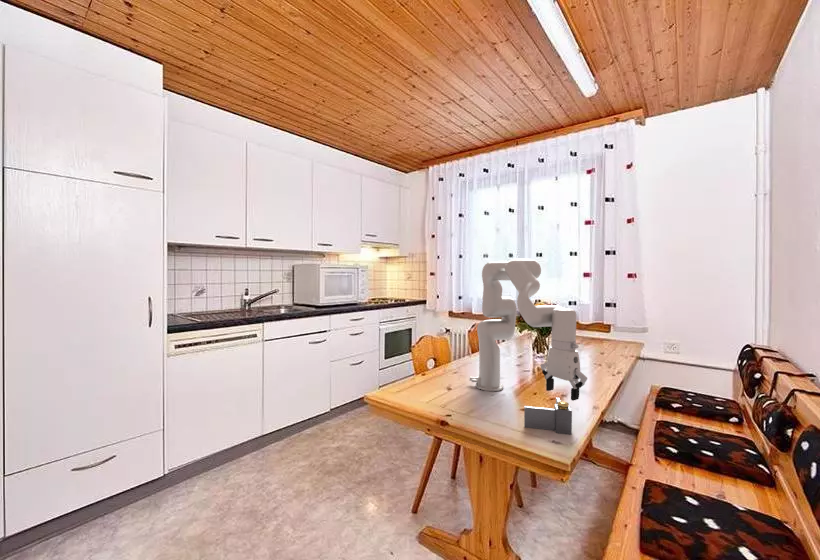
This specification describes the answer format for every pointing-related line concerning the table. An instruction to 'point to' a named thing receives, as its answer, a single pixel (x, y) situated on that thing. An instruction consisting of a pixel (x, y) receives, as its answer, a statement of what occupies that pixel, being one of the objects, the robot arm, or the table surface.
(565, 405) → the hinge pin
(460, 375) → the table surface
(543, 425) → the hinge bracket
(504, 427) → the table surface
